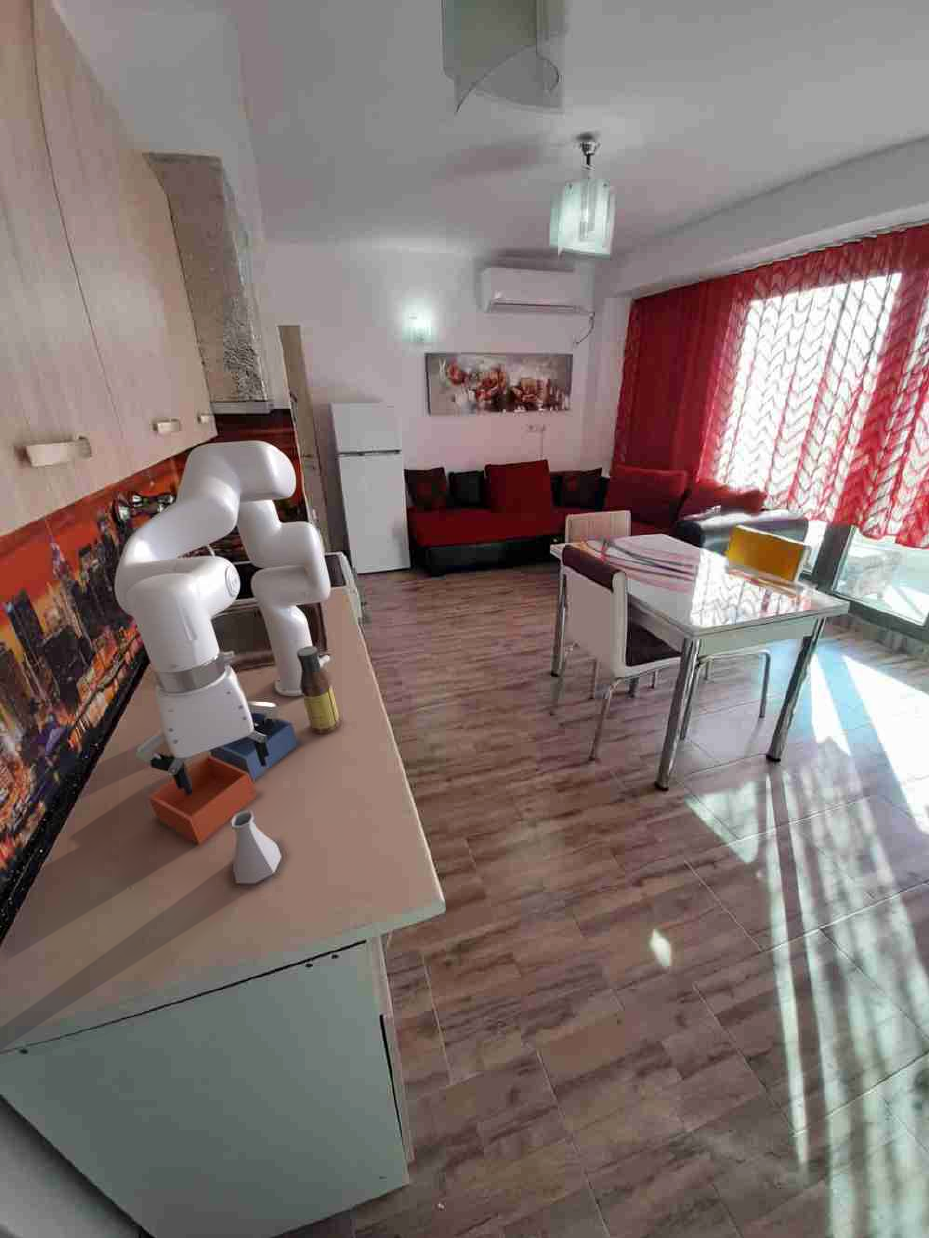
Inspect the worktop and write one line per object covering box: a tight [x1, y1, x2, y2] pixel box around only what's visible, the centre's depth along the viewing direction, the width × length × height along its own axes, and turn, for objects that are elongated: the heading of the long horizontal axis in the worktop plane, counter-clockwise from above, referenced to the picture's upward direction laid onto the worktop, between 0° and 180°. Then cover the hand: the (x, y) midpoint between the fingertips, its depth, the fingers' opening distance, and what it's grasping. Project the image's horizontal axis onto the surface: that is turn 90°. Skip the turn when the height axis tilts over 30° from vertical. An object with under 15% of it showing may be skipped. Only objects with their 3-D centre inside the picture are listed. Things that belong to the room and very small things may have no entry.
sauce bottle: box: [297, 645, 340, 734], centre depth 102 cm, size 6×6×20 cm
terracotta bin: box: [147, 754, 257, 845], centre depth 85 cm, size 12×12×6 cm
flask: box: [230, 810, 282, 884], centre depth 73 cm, size 7×7×10 cm
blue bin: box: [209, 713, 299, 782], centre depth 98 cm, size 12×12×6 cm
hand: (227, 774), depth 67 cm, fingers open, 9 cm apart
